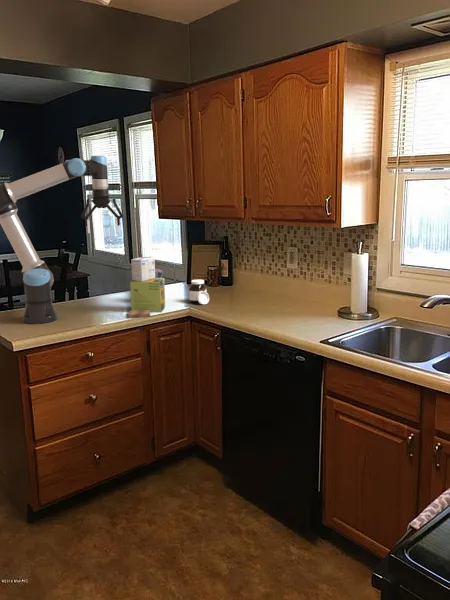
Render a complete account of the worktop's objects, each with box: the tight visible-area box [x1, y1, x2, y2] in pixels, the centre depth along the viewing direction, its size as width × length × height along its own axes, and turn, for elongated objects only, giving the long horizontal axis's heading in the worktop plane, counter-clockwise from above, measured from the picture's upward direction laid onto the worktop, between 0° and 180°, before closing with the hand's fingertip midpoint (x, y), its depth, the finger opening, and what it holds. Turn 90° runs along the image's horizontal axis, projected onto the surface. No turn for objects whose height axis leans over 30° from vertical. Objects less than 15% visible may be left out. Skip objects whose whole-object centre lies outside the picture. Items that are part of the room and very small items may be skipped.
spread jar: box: [188, 279, 210, 305], centre depth 279 cm, size 12×11×12 cm
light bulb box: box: [130, 256, 156, 281], centre depth 262 cm, size 11×7×11 cm, turn 149°
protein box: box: [129, 277, 166, 313], centre depth 264 cm, size 10×15×16 cm
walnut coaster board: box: [128, 310, 151, 319], centre depth 254 cm, size 10×8×2 cm
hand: (103, 232), depth 259 cm, fingers open, 13 cm apart
